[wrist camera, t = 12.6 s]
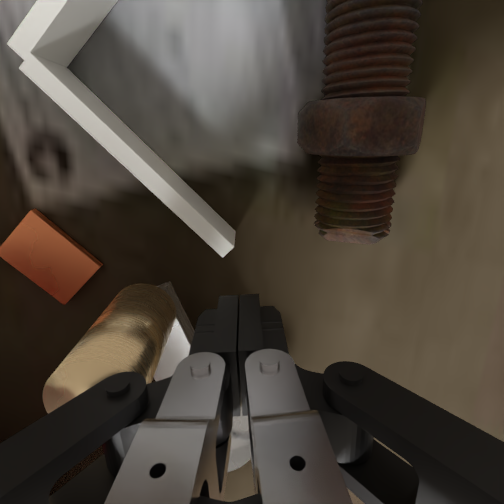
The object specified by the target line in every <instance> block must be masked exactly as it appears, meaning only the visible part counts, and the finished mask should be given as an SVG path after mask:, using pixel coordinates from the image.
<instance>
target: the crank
mask: <svg viewBox="0 0 504 504" xmlns="http://www.w3.org/2000/svg"><path fill="white" fill-rule="evenodd" d="M194 332H195V331H194V329H193V327H192V325H191V323H190V321H189V319H188V316H187V314H186V312H185V310H184V308H183V306H182V304H181V302H180V300H179V298H178V296H177V294H176V292H175V290H174V288H173V286H172V284H171V281H169V282H166V283H163V284H160V285H158V286H155V285H152V284H148V283H136V284H132V285H129V286H127V287H125V288H124V289H122V290H121V291H120V292H119V293H118V294H117V296H116V297H115V298H114V299H113V300H112V302H111V303H110V304H109V305H108V307H107V308H106V309H105V310H104V311H103V313H102V314H101V315H100V316H99V318H98V319H97V320H96V321H95V322H94V324H93V325H92V326H91V327H90V328H89V330H88V331H87V332H86V333H85V335H84V336H83V337H82V338H81V339H80V341H79V342H78V343H77V344H76V345H75V347H74V348H73V349H72V350H71V352H70V353H69V354H68V355H67V356H66V358H65V359H64V360H63V361H62V362H61V364H60V365H59V366H58V367H57V369H56V370H55V371H54V372H53V373H52V375H51V376H50V377H49V378H48V380H47V381H46V383H45V386H44V389H43V403H44V407H45V409H46V411H47V413H48V414H49V413H50V412H52V411H54V410H55V409H57V408H58V407H60V406H62V405H63V404H65V403H66V402H68V401H70V400H71V399H73V398H75V397H76V396H78V395H79V394H81V393H83V392H84V391H86V390H88V389H89V388H91V387H92V386H94V385H96V384H97V383H99V382H100V381H102V380H104V379H105V378H107V377H109V376H112V375H114V374H117V373H121V372H136V373H139V374H141V375H142V376H144V378H145V380H146V384H149V383H151V382H152V380H153V377H154V379H155V381H159V380H163V379H166V378H168V377H171V376H172V375H173V374H174V372H175V369H176V367H177V365H178V364H179V363H180V361H182V360H183V359H184V358H186V357H187V356H188V355H189V351H190V347H191V343H192V339H193V336H194ZM250 459H251V451H250V442H249V425H248V416H243V415H242V400H241V413H240V416H234V417H233V426H232V431H231V448H230V456H229V464H228V472H230V471H233V470H235V469H237V468H239V467H241V466H243V465H244V464H245V463H247V462H248V461H249V460H250Z"/></svg>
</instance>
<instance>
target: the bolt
mask: <svg viewBox="0 0 504 504" xmlns="http://www.w3.org/2000/svg"><path fill="white" fill-rule="evenodd" d="M327 2H328V3H327V5H326V12H327V15H326V17H325V21H326V23H327V25H326V27H325V29H324V30H325V34H327V36H326V37H325V38H324V43H325V44H326V45H327V46H326V47H325V49H324V50H323V52H324V53H325V54H326V55H327V56H326V57H325V58H324V60H323V63H324V64H325V65H326V66H327V67H325V68H324V70H323V71H322V72H323V73H324V74H325V75H326V76H327V77H325V78H324V79H323V80H322V82H323V83H324V84H325V85H326V87H324V88H323V89H322V92H323V93H324V94H325V95H326V96H325V97H324V98H323V99H321V100H318V101H311V102H308V103H307V104H306V105H305V106H304V108H303V109H302V110H301V111H300V112H299V113H298V139H297V143H298V144H299V145H300V146H301V147H302V148H303V150H304V151H305V152H306V153H308V154H315V155H320V156H321V157H322V158H321V159H320V160H319V161H318V163H319V164H321V165H322V166H321V167H320V168H319V169H318V170H317V171H318V172H320V173H321V174H320V175H319V176H318V177H317V179H318V180H319V181H321V182H319V183H318V184H317V186H316V187H318V188H319V189H320V190H319V191H318V192H316V195H317V196H319V198H318V199H317V200H316V203H317V204H318V205H319V206H318V207H317V208H316V209H315V210H316V212H318V213H317V214H316V215H315V216H314V217H315V218H316V219H317V221H315V222H314V224H315V226H316V227H317V228H318V230H319V234H320V235H321V236H322V237H324V238H325V239H326V240H331V241H340V242H349V243H360V244H373V243H377V242H378V241H380V240H381V239H383V238H384V237H386V236H387V235H388V233H389V232H390V230H389V229H388V228H390V227H391V222H390V220H391V219H392V217H391V215H390V213H391V212H392V211H393V208H392V207H391V206H390V205H392V204H393V203H394V200H393V199H392V198H391V197H392V196H393V195H395V194H396V193H395V192H394V191H393V189H392V188H394V187H396V183H395V182H394V181H393V180H394V179H396V178H397V177H398V176H397V175H396V174H395V172H394V171H396V170H398V168H399V167H398V166H397V165H396V164H395V163H396V162H397V161H399V160H400V158H399V157H398V156H399V155H410V154H415V153H416V152H417V151H418V149H419V145H420V142H421V136H422V129H423V123H424V116H425V108H426V99H424V98H422V97H406V95H407V94H408V93H409V91H408V90H407V89H406V88H405V86H407V85H408V84H409V83H410V82H411V81H410V80H409V79H408V78H407V77H406V76H408V75H409V74H410V73H411V72H413V71H412V70H411V69H410V68H409V67H408V65H410V64H411V63H412V62H413V61H414V59H413V58H411V57H410V56H409V55H410V54H411V53H413V52H414V51H415V50H416V48H415V47H414V46H412V45H411V44H412V43H413V42H414V41H415V40H416V39H417V38H418V37H417V36H416V35H415V34H413V32H415V31H416V30H417V29H418V28H419V25H418V24H417V22H415V21H416V20H417V19H418V18H419V17H420V16H421V13H420V12H419V10H417V9H419V7H420V6H421V5H422V0H327Z"/></svg>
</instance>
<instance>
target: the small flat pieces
mask: <svg viewBox="0 0 504 504" xmlns="http://www.w3.org/2000/svg"><path fill="white" fill-rule="evenodd" d="M0 257H1V258H2V259H4V260H5V261H6V262H8V263H9V264H10V265H12V266H13V267H14V268H16V269H17V270H18V271H20V272H21V273H22V274H24V275H25V276H26V277H28V278H29V279H30V280H32V281H33V282H34V283H36V284H37V285H38V286H40V287H41V288H42V289H44V290H45V291H46V292H47V293H49V294H50V295H51V296H53V297H54V298H55V299H57V300H58V301H59V302H61V303H62V304H63V305H65V304H66V303H67V302H68V301H69V300H70V299H71V298H72V297H73V296H74V295H75V294H76V293H77V292H78V291H79V289H80V288H81V287H82V286H83V285H84V284H85V283H86V282H87V281H88V280H89V279H90V278H91V277H92V276H93V275H94V274H95V273H96V271H97V270H98V269H99V268H100V267H101V266H102V265H103V263H102V262H100V261H99V260H98V259H97V258H95V257H94V256H93V255H92V254H91V253H89V252H88V251H87V250H86V249H84V248H83V247H82V246H81V245H80V244H78V243H77V242H76V241H75V240H73V239H72V238H71V237H70V236H69V235H67V234H66V233H65V232H64V231H63V230H61V229H60V228H59V227H58V226H56V225H55V224H54V223H53V222H52V221H50V220H49V219H48V218H47V217H45V216H44V215H43V214H42V213H41V212H39V211H38V210H37V209H33V210H30V211H29V213H28V214H27V215H26V216H25V217H24V219H23V220H22V221H21V222H20V224H19V225H18V226H17V227H16V228H15V230H14V231H13V232H12V233H11V234H10V236H9V237H8V238H7V239H6V240H5V242H4V243H3V244H2V245H1V246H0Z"/></svg>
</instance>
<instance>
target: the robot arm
mask: <svg viewBox="0 0 504 504" xmlns="http://www.w3.org/2000/svg"><path fill="white" fill-rule="evenodd" d="M241 400H242V415H243V416H248V425H249V442H250V451H251V461H252V470H253V480H254V490H255V495H253V496H250V497H247V498H244V499H241V500H238V501H234V502H225V501H224V495H225V487H226V479H227V472H228V464H229V456H230V448H231V431H232V426H233V417H234V416H240V413H241ZM374 437H375V438H376V439H377V440H379V441H380V442H382V443H383V444H385V445H386V446H387V447H389V448H390V449H392V450H393V451H394V452H396V453H397V454H399V455H400V456H401V457H403V458H404V459H405V460H407V461H408V462H409V463H410V464H411V465H412V466H410V465H409V464H407V463H406V462H405V461H403V460H402V459H400V458H399V457H398V456H396V455H395V454H393V453H392V452H391V451H389V450H388V449H386V448H385V447H384V446H382V445H381V444H379V443H378V442H377V441H375V440H374V439H373V438H374ZM101 445H102V448H103V452H104V454H103V455H101V456H100V457H99V458H98V459H96V460H95V461H94V462H93V463H91V464H90V465H89V466H87V467H86V468H85V469H84V470H82V471H81V472H80V473H79V474H77V475H76V476H75V477H74V478H72V479H71V480H70V481H69V482H67V483H66V484H65V485H64V486H62V487H61V488H60V489H59V490H57V491H56V492H55V493H54V494H52V495H51V496H49V493H50V491H51V489H52V487H53V485H54V484H55V483H56V481H57V480H58V479H59V478H60V477H61V476H62V475H64V474H65V473H66V472H67V471H69V470H70V469H71V468H73V467H74V466H75V465H77V464H78V463H79V462H80V461H82V460H83V459H84V458H86V457H87V456H88V455H89V454H91V453H92V452H93V451H95V450H96V449H97V448H98V447H100V446H101ZM347 488H348V489H349V490H350V491H352V492H353V493H354V494H355V495H356V496H357V497H358V498H359V499H360V500H362V501H363V502H364V503H365V504H504V442H503V441H501V440H499V439H497V438H495V437H493V436H492V435H490V434H488V433H486V432H484V431H482V430H481V429H479V428H477V427H475V426H473V425H471V424H470V423H468V422H466V421H464V420H462V419H460V418H459V417H457V416H455V415H453V414H451V413H449V412H448V411H446V410H444V409H442V408H440V407H439V406H437V405H435V404H433V403H431V402H429V401H428V400H426V399H424V398H422V397H420V396H418V395H417V394H415V393H413V392H411V391H409V390H407V389H406V388H404V387H402V386H400V385H398V384H396V383H395V382H393V381H391V380H389V379H387V378H386V377H384V376H382V375H380V374H378V373H376V372H375V371H373V370H371V369H369V368H367V367H365V366H363V365H361V364H358V363H354V362H347V361H343V362H336V363H333V364H331V365H329V366H328V367H327V368H326V369H325V371H324V374H321V373H316V372H311V371H307V370H304V369H302V368H300V367H298V366H297V365H296V364H294V361H293V359H292V358H291V356H289V353H288V348H287V343H286V338H285V334H284V329H283V324H282V319H281V314H280V312H279V311H278V310H277V309H276V308H275V307H274V306H263V307H260V304H259V294H248V295H240V305H239V296H238V295H228V296H219V301H218V307H217V309H206V310H205V311H204V312H203V313H202V314H201V315H200V316H199V317H198V320H197V324H196V328H195V332H194V336H193V339H192V343H191V347H190V351H189V355H188V356H187V357H186V358H184V359H183V360H182V361H180V363H179V364H178V365H177V367H176V369H175V372H174V374H173V375H172V376H171V377H168V378H166V379H163V380H159V381H156V382H152V383H149V384H146V380H145V378H144V376H142V375H141V374H139V373H136V372H121V373H117V374H114V375H112V376H109V377H107V378H105V379H104V380H102V381H100V382H99V383H97V384H96V385H94V386H92V387H91V388H89V389H88V390H86V391H84V392H83V393H81V394H79V395H78V396H76V397H75V398H73V399H71V400H70V401H68V402H66V403H65V404H63V405H62V406H60V407H58V408H57V409H55V410H54V411H52V412H50V413H49V414H47V415H45V416H44V417H42V418H41V419H39V420H37V421H36V422H34V423H32V424H31V425H29V426H28V427H26V428H24V429H23V430H21V431H20V432H18V433H16V434H15V435H13V436H11V437H10V438H8V439H7V440H5V441H3V442H2V443H0V504H353V503H352V501H351V498H350V495H349V493H348V490H347Z"/></svg>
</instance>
